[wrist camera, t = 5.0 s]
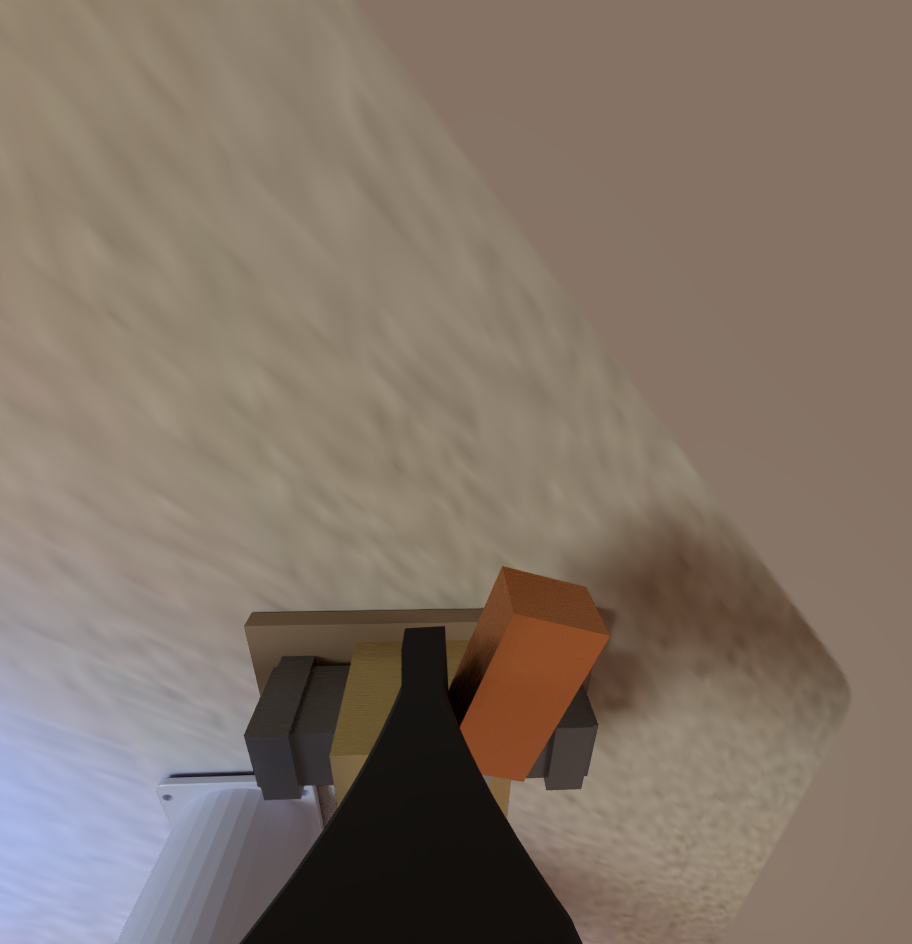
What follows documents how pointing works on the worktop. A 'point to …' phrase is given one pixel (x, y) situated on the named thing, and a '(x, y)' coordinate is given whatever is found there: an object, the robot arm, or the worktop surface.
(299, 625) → the plank
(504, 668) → the lever
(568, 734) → the valve
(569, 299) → the worktop surface
